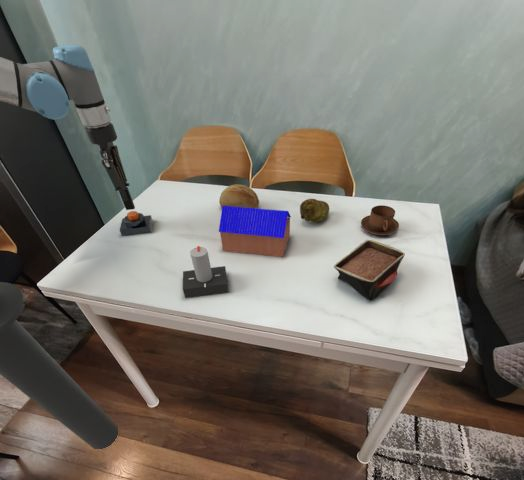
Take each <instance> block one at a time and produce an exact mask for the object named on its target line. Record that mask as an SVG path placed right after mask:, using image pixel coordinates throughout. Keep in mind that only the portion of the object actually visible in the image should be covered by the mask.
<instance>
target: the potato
mask: <svg viewBox="0 0 524 480" xmlns="http://www.w3.org/2000/svg"><path fill="white" fill-rule="evenodd" d="M299 213H300V218H301V219H302V220H304V221H306V222H307V223H309V222H310V223H312V222H313V223H321V222H323V221H324V220H325V219H327V218H328V216H329V213H330V205H329V203H328V202H327V201H325V200H318V199H316V198H308V199H305V200H304V201H302V203H300V205H299Z"/></svg>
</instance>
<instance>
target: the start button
mask: <svg viewBox="0 0 524 480" xmlns="http://www.w3.org/2000/svg"><path fill="white" fill-rule="evenodd" d="M138 213H139V212H138V211H136V210H130V211H129V212H127V213H126V216H128V219H129V220H131V221H132V220H137V219H138V218H139V215H138Z"/></svg>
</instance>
